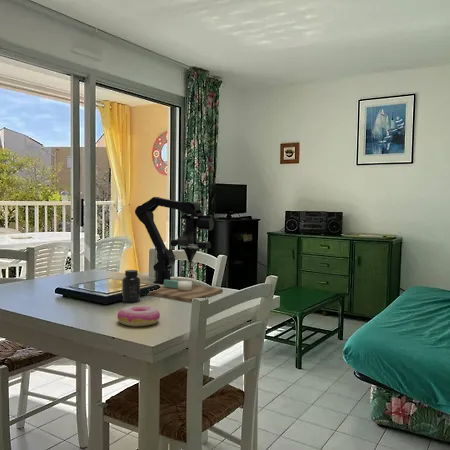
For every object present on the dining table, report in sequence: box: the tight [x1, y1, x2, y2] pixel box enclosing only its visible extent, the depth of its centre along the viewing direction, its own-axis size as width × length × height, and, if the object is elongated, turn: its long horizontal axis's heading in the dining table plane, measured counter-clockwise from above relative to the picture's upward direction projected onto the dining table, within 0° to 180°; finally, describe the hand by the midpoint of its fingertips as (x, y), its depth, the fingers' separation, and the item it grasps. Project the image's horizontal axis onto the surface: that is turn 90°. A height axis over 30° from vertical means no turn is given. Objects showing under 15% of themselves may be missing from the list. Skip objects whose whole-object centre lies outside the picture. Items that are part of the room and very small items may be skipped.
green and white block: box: [163, 279, 193, 291], centre depth 195 cm, size 13×6×3 cm, turn 67°
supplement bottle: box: [121, 269, 141, 304], centre depth 177 cm, size 7×7×12 cm
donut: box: [117, 304, 161, 327], centre depth 149 cm, size 14×13×5 cm
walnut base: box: [147, 283, 224, 304], centre depth 194 cm, size 24×24×2 cm
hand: (190, 262), depth 209 cm, fingers closed
